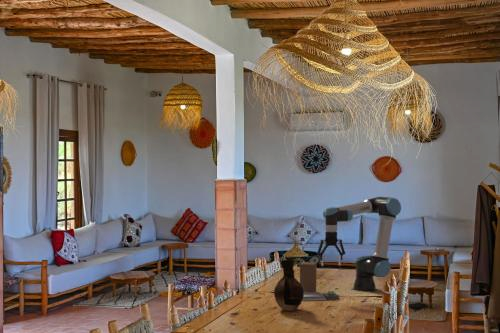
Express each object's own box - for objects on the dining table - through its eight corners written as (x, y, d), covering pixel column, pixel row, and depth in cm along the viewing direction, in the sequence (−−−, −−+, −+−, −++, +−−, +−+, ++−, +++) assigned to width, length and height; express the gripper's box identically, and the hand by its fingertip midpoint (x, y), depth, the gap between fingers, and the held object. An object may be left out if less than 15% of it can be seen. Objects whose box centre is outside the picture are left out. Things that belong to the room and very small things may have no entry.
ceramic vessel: (301, 314, 396) (302, 262, 396) (271, 313, 399) (271, 261, 399) (305, 306, 417) (305, 257, 417) (276, 305, 420) (276, 256, 420)
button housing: (335, 296, 449) (335, 293, 449) (338, 299, 441) (338, 295, 441) (323, 296, 448) (323, 293, 448) (326, 299, 440) (326, 295, 440)
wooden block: (314, 294, 455) (314, 264, 455) (299, 294, 457) (299, 264, 457) (316, 292, 465) (316, 262, 465) (301, 291, 467) (301, 261, 467)
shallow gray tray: (320, 295, 452) (320, 292, 452) (325, 300, 438) (325, 296, 438) (296, 296, 450) (296, 292, 450) (301, 300, 436) (301, 296, 436)
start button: (333, 294, 447) (333, 290, 447) (334, 295, 443) (334, 292, 443) (327, 294, 446) (327, 291, 446) (328, 295, 442) (328, 292, 442)
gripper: (347, 230, 450) (347, 264, 450) (312, 230, 446) (312, 264, 447) (350, 231, 442) (350, 266, 442) (314, 232, 439) (314, 266, 439)
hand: (331, 265), depth 444 cm, fingers open, 11 cm apart
